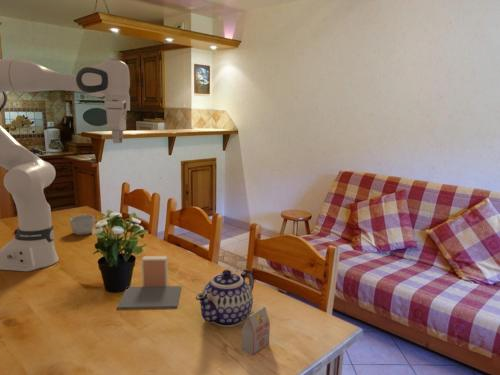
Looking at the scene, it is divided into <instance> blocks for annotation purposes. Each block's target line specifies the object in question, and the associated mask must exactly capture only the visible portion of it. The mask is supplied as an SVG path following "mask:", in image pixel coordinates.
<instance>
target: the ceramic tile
mask: <svg viewBox="0 0 500 375" xmlns="http://www.w3.org/2000/svg"><path fill="white" fill-rule="evenodd" d="M141 266H142V267H141V268H142V269H141V270H142V271H141V272H142V287H154V286H168V284H169V283H168V282H169V280H168V277H169V276H168V275H169V274H168V255H167V256H166V255H145V256H144V255H143V257H142V259H141Z"/></svg>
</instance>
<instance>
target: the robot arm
mask: <svg viewBox="0 0 500 375" xmlns="http://www.w3.org/2000/svg"><path fill="white" fill-rule="evenodd" d="M130 76H131V75H130V69H129V66H128V64H126V63H125V61H122V60H120V59H115V58H107V59H105V60H103V62H101V63H98V64H95V65H92V66H85V67H83V68H81V69H80V70H78V71H77V74H73V73H72V74H71V73H63V72H58V71H55V70H52V69H50V68H47V67H45V66H44V65H41V64H38V63H36V62H32V61H29V60H23V59H13V58H0V113H1V112H2V110H3V109H4V108H5V106H6V105H7V103H8V95H7V94H8V93H7V92H16V93H17V92H19V93H32V92H45V91H46V92H47V91H49V92H50V91H66V92H68V91H69V92H76V93H77V92H78V93H84V94H87V95H89V96H92V97H94V98H96V99H100V100H103V99H104V110H106V111H105V113H106V122H107V124H106V125H107V128H108V130H110V131H111V135H112V143H113V144H122V143H123V137H124V132H126V131H127V115H128V114H127V111H131V96H130V88H131V87H130V86H131V77H130ZM0 167H1V168H3V169H5V170H7V171H8V172H6V173H5V175H4V177H3V186H4V187H5V189H6V191H8V193H9V194H11V197H12V199H13V201H14V204H15V206H16V212H17V220H18V221H17V223H18V226H17V228H16V229H14V230H13V231H12V232H11V233H12V236H14V238H13V239H11V240H10V241H8V242H7V243H6V244H5V245H4V246H3V247H2V248H1V249H0V270H2V271H3V270H4V271H15V272H16V271H17V272H31V271H35V270H37V269H41V268H42V269H43V268H46V267H50V266H52V265H54V264H56V263H57V262H58V261H59V260H60V259H59V256H58V253H57V251H56V247H55V241H54V240H55V231H54V225H53V223H52V212H51V211H52V210H51V205H50V204H49V202H47V199H46V196H45V193H44V189H45V188H47V187H49V186H50V185H51V184H52V183H53V182H54V180H55V178H56V168H55V166H53V165H52V164H51V163H50V162H48V161H45V160H43V159H42V158H40V157H39V156H38V155H36V154H35V153H34V152H32V151H30V150H29V149H28V148H26V147H25V146H23V145H22V144H21V143H20V142H19V141H18V140H16V139H15V138H14V136H12V135H11V134H10V133H9V132H8V131H7V130H6V129H5V128H4V127H3V126H2V125H1V124H0Z"/></svg>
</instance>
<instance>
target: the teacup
mask: <svg viewBox="0 0 500 375" xmlns="http://www.w3.org/2000/svg"><path fill="white" fill-rule="evenodd" d="M69 222H70V227H71V232H73V234H75V235H78V236H83V235H89V234H91V233H92V232H93V231H92V228H93V226H94V224H96V223H95V216H94V215H93V214H88V213H84V214H78V215H74V216H73V217H71V218H70V219H69ZM91 231H92V232H91Z"/></svg>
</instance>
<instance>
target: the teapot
mask: <svg viewBox="0 0 500 375" xmlns="http://www.w3.org/2000/svg"><path fill="white" fill-rule="evenodd" d="M247 276H248V282H247V281H246V277H247ZM254 284H255V279H254V275H253V273H252V271H251V270H249V269H247V268H246V269H244V270H242V271H241V274H240V275H239V274H238V273H232V271H231V270H230V269H224V270H223V271H222V273H218V274H217V273H216V274H215V275H214V276H212V277H211V279H210V281H208V282H207V283H206V284H205V286H204V287H203V290H202V291H201V293H197V295H196V296H195V299H196V300H197V301H199V303H200V313H201V316H202V319H203V320H204V321H205V322H206V323H213V324H214V325H217V326H219V327H225V328H226V327H235V326H238V325H239V324H241V323H243V321H244V320H246V319H247V317H248V316H249V315H251V312H252V308H253V300H254V298H253V289H254Z"/></svg>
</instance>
